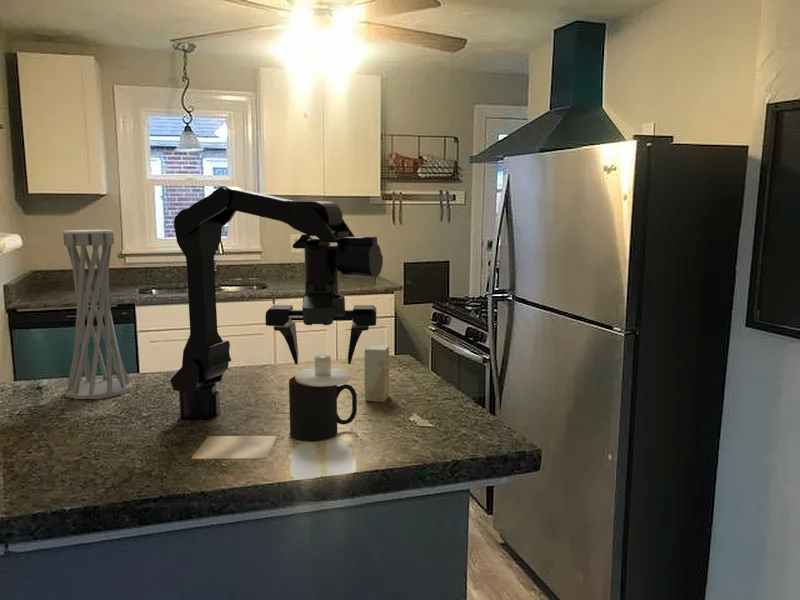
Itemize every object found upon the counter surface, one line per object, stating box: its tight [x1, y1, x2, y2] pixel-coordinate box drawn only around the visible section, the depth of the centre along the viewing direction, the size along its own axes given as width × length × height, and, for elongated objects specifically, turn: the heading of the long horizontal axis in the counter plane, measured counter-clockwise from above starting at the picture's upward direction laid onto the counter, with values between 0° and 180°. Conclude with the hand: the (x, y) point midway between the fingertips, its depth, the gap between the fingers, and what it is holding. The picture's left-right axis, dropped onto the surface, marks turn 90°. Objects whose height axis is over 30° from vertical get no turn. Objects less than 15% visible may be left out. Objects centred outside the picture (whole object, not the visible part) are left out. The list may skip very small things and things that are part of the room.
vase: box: [62, 229, 133, 400], centre depth 140 cm, size 14×13×35 cm
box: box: [364, 344, 390, 403], centre depth 137 cm, size 5×4×11 cm
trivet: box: [190, 435, 278, 460], centre depth 108 cm, size 12×10×1 cm
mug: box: [288, 376, 358, 443], centre depth 115 cm, size 8×12×10 cm
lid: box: [294, 354, 351, 387], centre depth 114 cm, size 10×10×4 cm
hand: (323, 363), depth 114 cm, fingers open, 9 cm apart
